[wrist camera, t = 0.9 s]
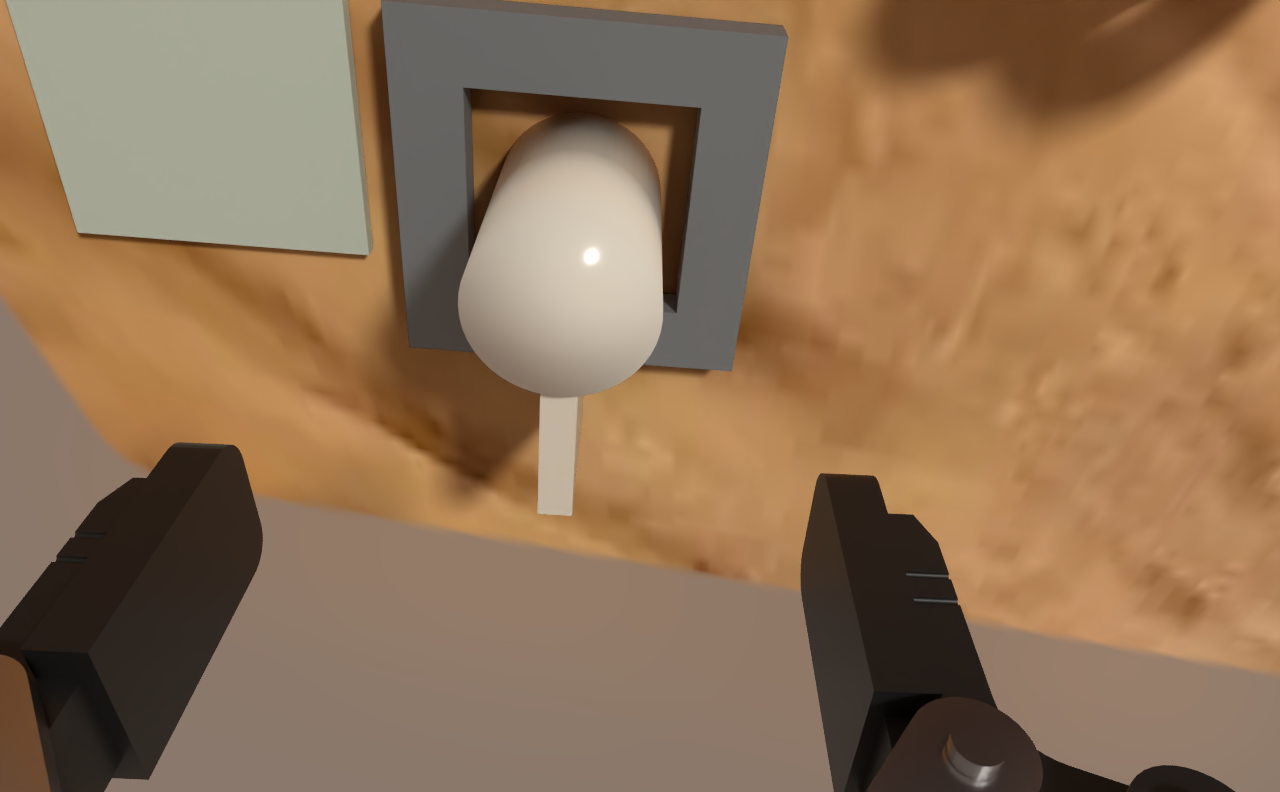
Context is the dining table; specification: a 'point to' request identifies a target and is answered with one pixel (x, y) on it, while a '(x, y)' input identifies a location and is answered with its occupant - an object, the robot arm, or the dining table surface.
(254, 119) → the trivet
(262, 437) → the dining table surface
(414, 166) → the socket
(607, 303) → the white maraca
